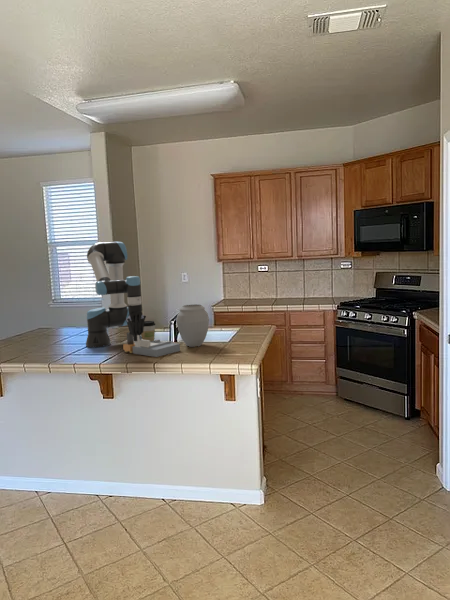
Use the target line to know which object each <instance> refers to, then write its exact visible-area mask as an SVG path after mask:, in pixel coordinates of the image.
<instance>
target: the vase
mask: <svg viewBox="0 0 450 600" xmlns="http://www.w3.org/2000/svg"><path fill="white" fill-rule="evenodd" d="M176 324H177V325H176V326H177V331H178V333H179V335H180V339H181V340H182V341H183V343H184V344H185V345H186V346H187V347H188V346H189V348H196V347H195V346H198V347H200V346H202V344H203V343H204V341H205V339H206V338H207V333H208V330H209V326H210V325H209V324H210V318H209V314H208V312H207V311H206V310H205V306H203V305H201V304H195V303H194V304H185V305H184V304H183V305H182V306H181V307H180V308H179V312H177V315H176Z"/></svg>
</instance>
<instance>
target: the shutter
mask: <svg viewBox="0 0 450 600" xmlns="http://www.w3.org/2000/svg"><path fill="white" fill-rule="evenodd" d="M156 344H158V343H151V342H150V340H143V339H142V338H141V340H140V346H141V347H148V348H149V346H152V345H156Z"/></svg>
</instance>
